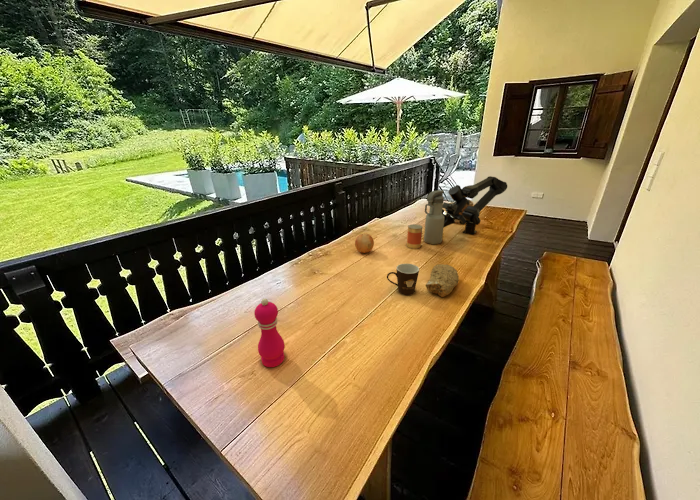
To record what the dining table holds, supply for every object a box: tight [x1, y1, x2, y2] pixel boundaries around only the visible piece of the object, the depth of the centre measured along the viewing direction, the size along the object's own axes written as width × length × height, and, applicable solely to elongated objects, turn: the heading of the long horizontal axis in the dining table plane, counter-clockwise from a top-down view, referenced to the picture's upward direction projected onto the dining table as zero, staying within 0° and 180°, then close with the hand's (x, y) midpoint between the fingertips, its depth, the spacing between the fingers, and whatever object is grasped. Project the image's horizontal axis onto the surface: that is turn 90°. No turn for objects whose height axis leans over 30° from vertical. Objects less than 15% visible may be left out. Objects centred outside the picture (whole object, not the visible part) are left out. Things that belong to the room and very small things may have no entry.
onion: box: [354, 232, 375, 254], centre depth 152 cm, size 10×10×10 cm
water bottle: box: [423, 189, 445, 245], centre depth 161 cm, size 10×10×28 cm
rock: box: [425, 263, 460, 298], centre depth 121 cm, size 13×8×20 cm
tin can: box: [406, 223, 423, 250], centre depth 159 cm, size 7×7×11 cm
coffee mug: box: [386, 263, 420, 296], centre depth 117 cm, size 12×9×10 cm
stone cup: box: [455, 198, 474, 224], centre depth 196 cm, size 15×12×15 cm
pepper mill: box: [253, 297, 286, 368], centre depth 81 cm, size 7×7×20 cm
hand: (440, 227), depth 166 cm, fingers closed, pressing on water bottle
